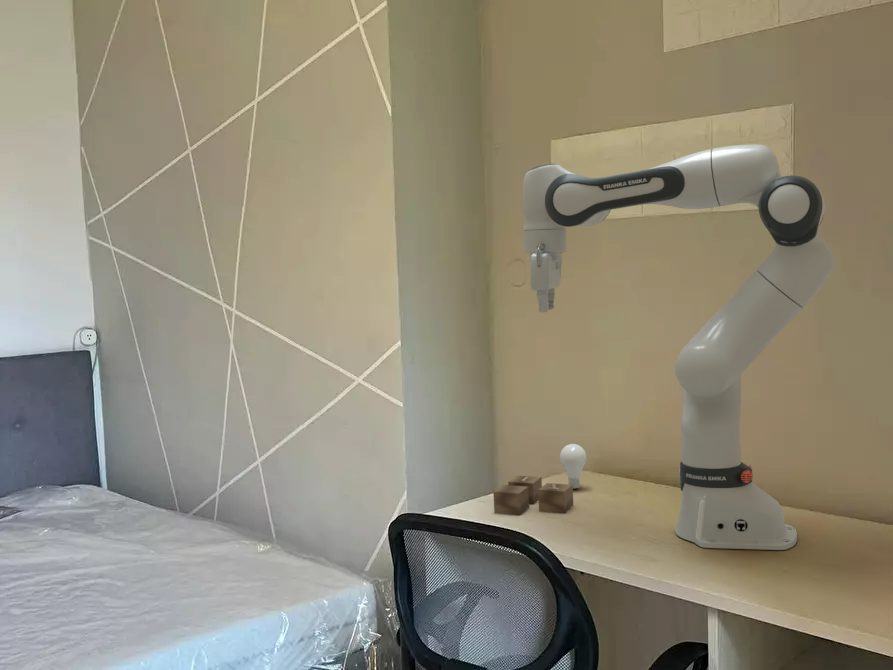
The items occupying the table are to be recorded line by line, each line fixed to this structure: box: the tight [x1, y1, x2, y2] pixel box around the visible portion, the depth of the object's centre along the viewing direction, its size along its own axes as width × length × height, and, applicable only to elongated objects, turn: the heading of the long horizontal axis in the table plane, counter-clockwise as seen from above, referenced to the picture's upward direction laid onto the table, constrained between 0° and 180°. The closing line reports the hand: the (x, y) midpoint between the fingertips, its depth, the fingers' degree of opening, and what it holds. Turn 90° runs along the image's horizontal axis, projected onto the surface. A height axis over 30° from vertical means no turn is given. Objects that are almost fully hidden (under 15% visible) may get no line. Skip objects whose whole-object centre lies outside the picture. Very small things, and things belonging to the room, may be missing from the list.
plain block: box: [493, 484, 530, 516], centre depth 197 cm, size 6×6×5 cm
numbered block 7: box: [538, 482, 574, 514], centre depth 196 cm, size 6×6×5 cm
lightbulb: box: [559, 443, 587, 490], centre depth 212 cm, size 6×6×11 cm
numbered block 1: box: [507, 475, 543, 505], centre depth 205 cm, size 6×6×5 cm
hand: (546, 310), depth 185 cm, fingers open, 8 cm apart
